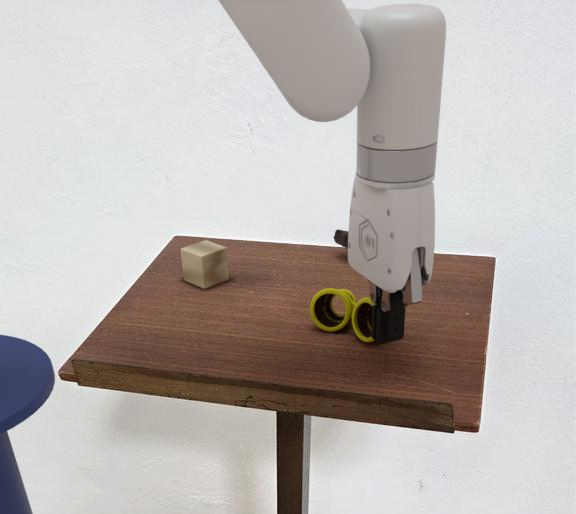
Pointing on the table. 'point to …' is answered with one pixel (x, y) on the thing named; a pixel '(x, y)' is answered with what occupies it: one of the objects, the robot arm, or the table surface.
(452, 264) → the table surface
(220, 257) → the pale wood block
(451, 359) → the table surface
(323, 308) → the opera glasses
